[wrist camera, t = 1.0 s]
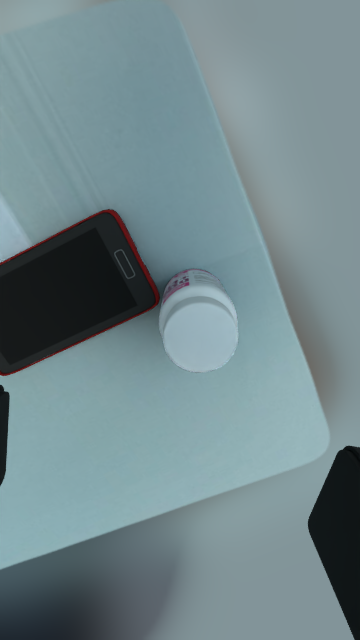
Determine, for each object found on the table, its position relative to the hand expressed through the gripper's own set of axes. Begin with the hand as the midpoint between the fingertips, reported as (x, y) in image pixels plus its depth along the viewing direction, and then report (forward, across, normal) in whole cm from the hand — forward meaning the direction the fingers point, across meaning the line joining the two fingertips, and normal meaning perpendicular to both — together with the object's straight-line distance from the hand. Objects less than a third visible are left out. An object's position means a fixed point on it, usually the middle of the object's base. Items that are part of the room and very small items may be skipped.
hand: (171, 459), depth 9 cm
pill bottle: (+17, -1, -1) cm, 17 cm away
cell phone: (+16, +9, +1) cm, 19 cm away
